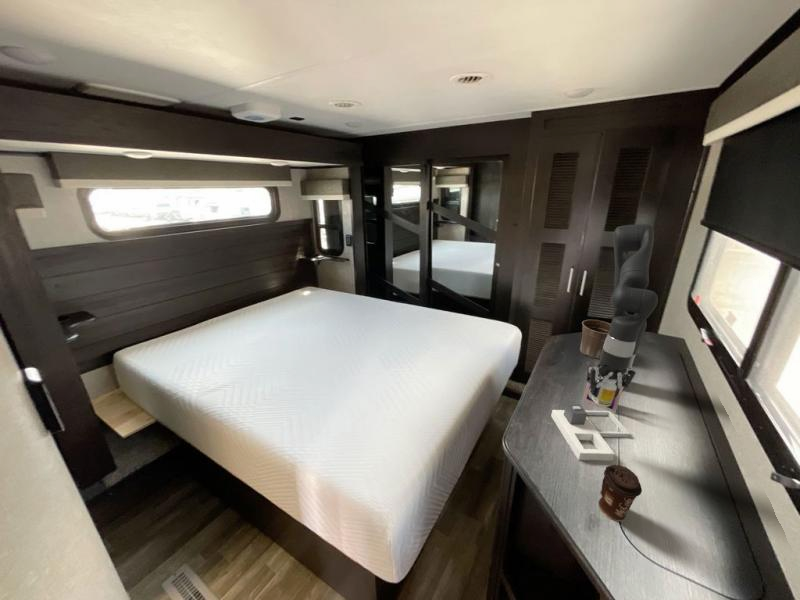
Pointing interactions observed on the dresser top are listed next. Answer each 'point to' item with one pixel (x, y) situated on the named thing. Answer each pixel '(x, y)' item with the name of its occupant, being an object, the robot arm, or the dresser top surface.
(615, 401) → the greeting card
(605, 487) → the coffee cup
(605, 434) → the tray
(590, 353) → the plant pot
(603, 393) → the supplement bottle
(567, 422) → the white holder base
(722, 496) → the dresser top surface
